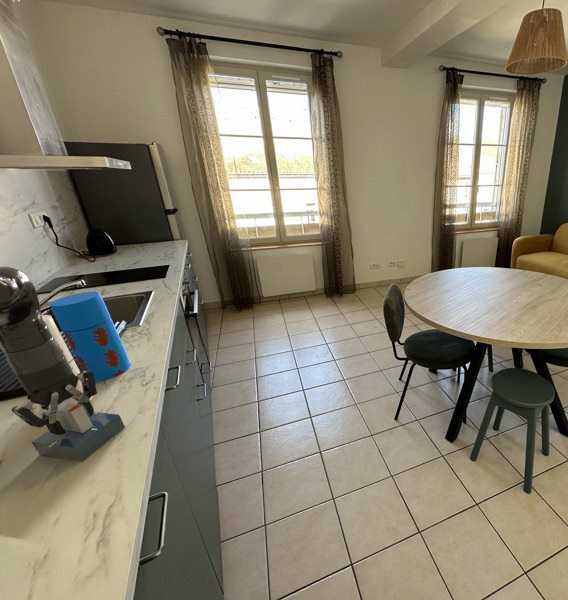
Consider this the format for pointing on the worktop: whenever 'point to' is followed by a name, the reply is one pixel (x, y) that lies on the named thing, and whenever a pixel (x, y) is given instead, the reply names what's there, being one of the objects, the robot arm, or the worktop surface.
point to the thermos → (91, 334)
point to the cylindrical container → (66, 352)
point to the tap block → (80, 438)
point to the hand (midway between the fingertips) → (75, 424)
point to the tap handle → (73, 417)
